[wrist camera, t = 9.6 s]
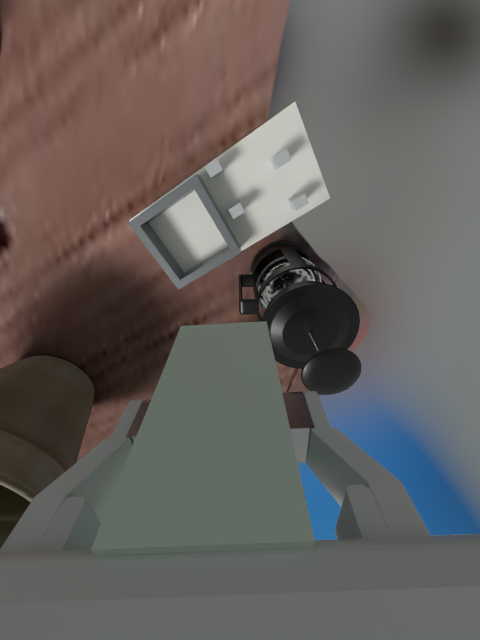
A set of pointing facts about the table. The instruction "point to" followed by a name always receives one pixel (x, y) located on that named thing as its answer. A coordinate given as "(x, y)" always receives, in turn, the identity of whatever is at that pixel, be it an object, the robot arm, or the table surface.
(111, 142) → the table surface
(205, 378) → the connector plug
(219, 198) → the board
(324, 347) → the french press
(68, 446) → the plant pot
